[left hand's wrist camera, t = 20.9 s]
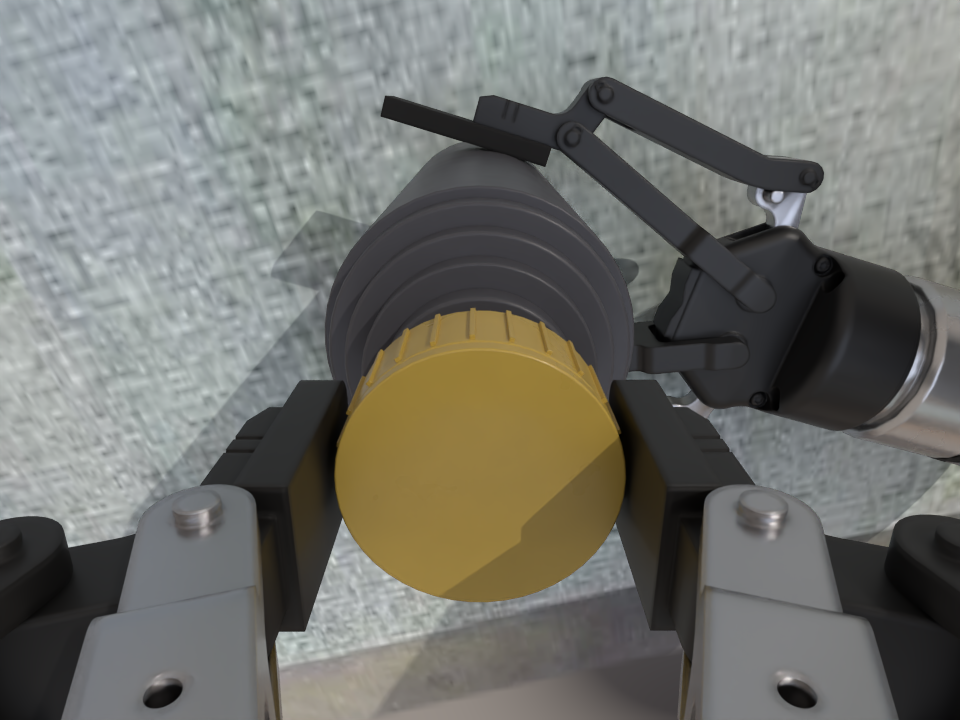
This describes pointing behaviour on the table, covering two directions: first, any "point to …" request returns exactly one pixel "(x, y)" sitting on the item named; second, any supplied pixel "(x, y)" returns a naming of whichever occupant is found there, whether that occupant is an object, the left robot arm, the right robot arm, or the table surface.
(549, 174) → the table surface
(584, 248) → the bottle
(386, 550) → the cap
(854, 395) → the right robot arm
